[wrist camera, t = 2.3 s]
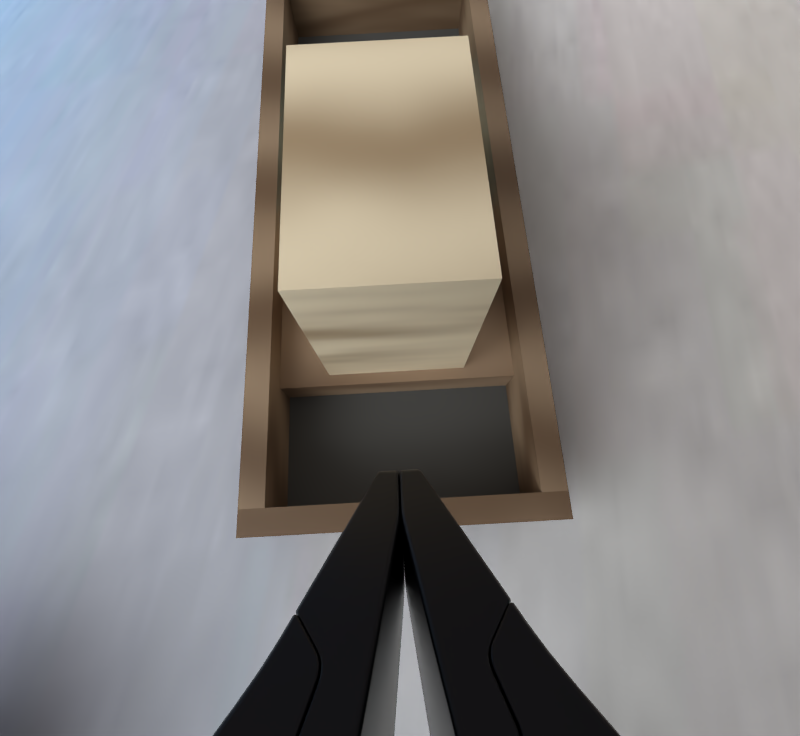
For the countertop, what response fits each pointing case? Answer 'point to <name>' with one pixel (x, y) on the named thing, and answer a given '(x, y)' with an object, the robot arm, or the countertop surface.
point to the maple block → (386, 204)
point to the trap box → (400, 390)
